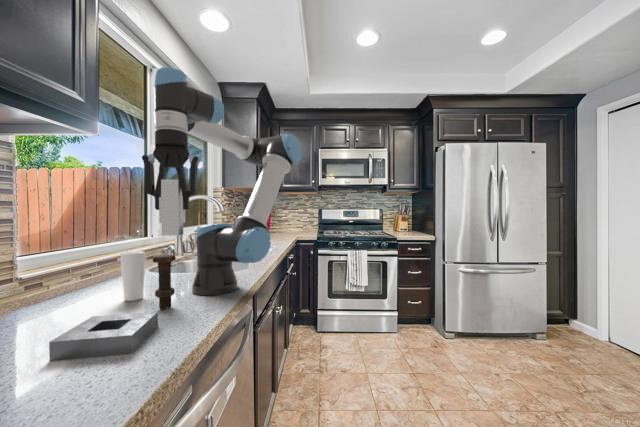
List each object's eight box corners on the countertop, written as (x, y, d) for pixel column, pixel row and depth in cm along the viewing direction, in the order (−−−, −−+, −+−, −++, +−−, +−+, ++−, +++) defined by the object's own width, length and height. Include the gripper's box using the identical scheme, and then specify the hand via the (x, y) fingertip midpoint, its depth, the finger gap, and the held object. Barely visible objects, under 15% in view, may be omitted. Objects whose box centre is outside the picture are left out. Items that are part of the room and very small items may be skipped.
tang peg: (166, 234, 78) (166, 181, 78) (183, 234, 78) (182, 181, 78) (161, 235, 74) (161, 179, 74) (178, 235, 74) (178, 179, 74)
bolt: (150, 309, 85) (149, 256, 85) (166, 304, 89) (165, 254, 89) (163, 311, 82) (162, 257, 82) (179, 306, 86) (178, 255, 86)
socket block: (92, 331, 69) (92, 316, 69) (158, 326, 71) (157, 311, 71) (49, 360, 55) (49, 342, 55) (132, 353, 58) (132, 335, 58)
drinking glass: (125, 297, 97) (124, 251, 97) (148, 295, 99) (147, 250, 99) (118, 303, 91) (117, 254, 91) (143, 301, 93) (142, 253, 93)
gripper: (128, 126, 71) (129, 223, 71) (203, 128, 74) (204, 222, 74) (141, 134, 78) (142, 223, 78) (209, 136, 81) (210, 221, 81)
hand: (172, 222), depth 76 cm, fingers closed on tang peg, 4 cm apart
